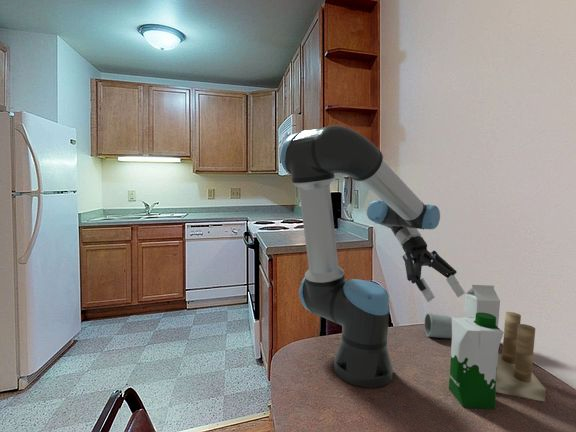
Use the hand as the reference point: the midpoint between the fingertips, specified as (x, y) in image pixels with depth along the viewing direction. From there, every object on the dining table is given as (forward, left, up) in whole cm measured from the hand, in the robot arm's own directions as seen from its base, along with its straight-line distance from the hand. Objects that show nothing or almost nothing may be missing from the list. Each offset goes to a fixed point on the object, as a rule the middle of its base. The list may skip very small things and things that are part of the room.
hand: (446, 297), depth 97 cm
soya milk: (+2, -24, -17) cm, 30 cm away
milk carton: (+12, +11, -17) cm, 24 cm away
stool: (+11, -11, -17) cm, 23 cm away
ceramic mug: (-1, +11, -17) cm, 20 cm away
